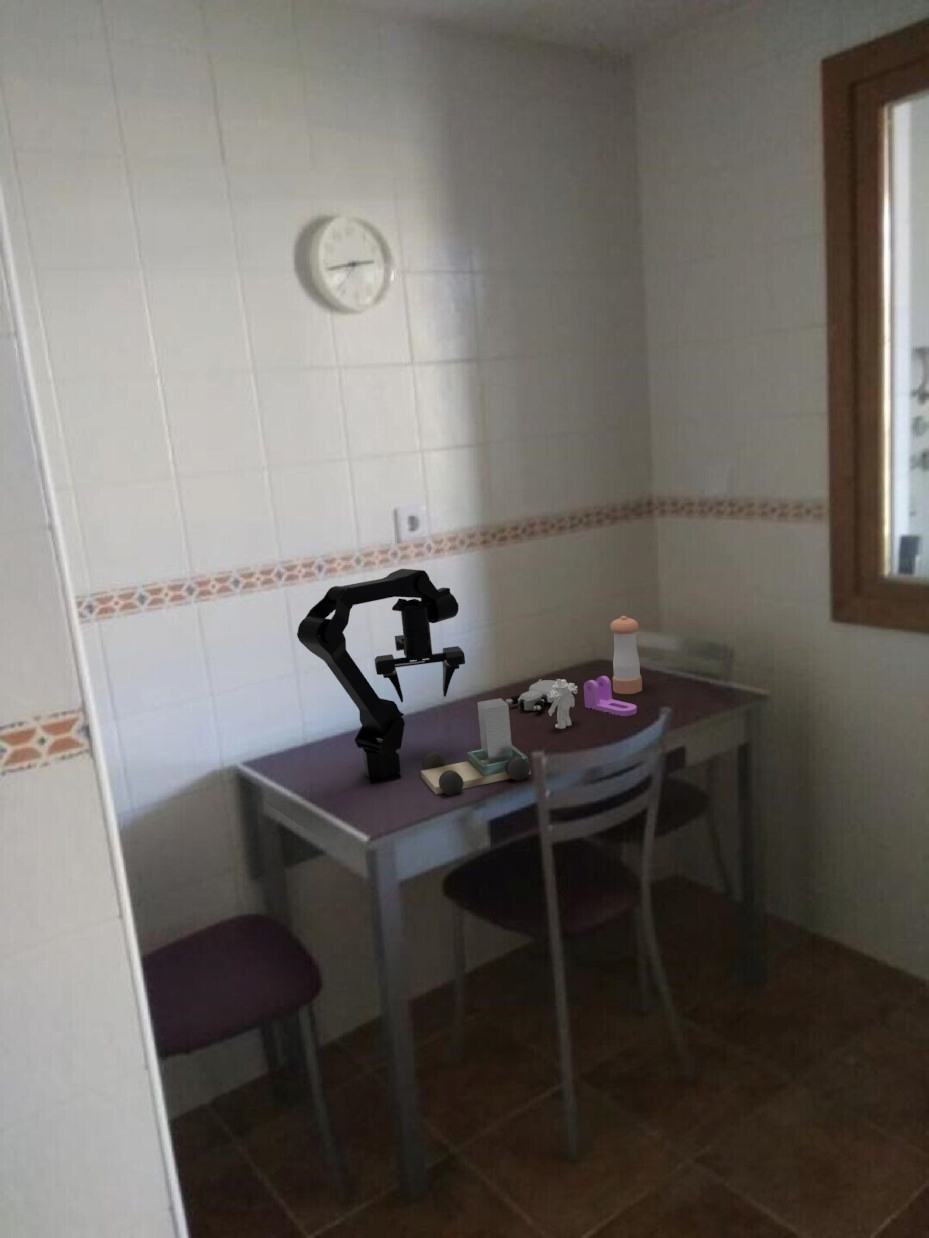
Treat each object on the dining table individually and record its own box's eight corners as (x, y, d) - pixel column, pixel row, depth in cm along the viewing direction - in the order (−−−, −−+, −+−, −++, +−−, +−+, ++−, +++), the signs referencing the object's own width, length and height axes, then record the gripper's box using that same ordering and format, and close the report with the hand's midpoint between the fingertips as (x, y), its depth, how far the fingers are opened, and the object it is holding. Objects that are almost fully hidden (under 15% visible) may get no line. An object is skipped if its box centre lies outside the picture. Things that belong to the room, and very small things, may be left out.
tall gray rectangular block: (489, 770, 191) (484, 708, 188) (482, 762, 196) (477, 702, 193) (513, 766, 192) (508, 704, 189) (505, 758, 197) (500, 698, 194)
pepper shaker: (611, 694, 238) (606, 619, 234) (615, 685, 245) (611, 613, 241) (640, 694, 236) (636, 619, 232) (643, 685, 243) (640, 612, 239)
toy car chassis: (439, 798, 183) (436, 776, 182) (418, 774, 196) (416, 754, 195) (534, 777, 189) (532, 756, 188) (508, 755, 202) (507, 736, 201)
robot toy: (540, 721, 226) (580, 700, 235) (537, 703, 224) (578, 683, 234) (503, 712, 235) (544, 692, 244) (501, 695, 233) (541, 675, 243)
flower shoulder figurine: (557, 733, 214) (554, 681, 211) (544, 729, 216) (541, 679, 214) (583, 721, 220) (580, 671, 217) (570, 718, 222) (566, 669, 220)
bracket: (585, 707, 230) (583, 680, 228) (600, 701, 233) (599, 674, 232) (625, 718, 220) (624, 689, 218) (641, 711, 223) (640, 683, 222)
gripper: (454, 615, 209) (460, 683, 213) (369, 625, 207) (377, 694, 210) (462, 625, 198) (468, 697, 202) (372, 636, 196) (381, 708, 199)
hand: (423, 699), depth 204 cm, fingers open, 9 cm apart
